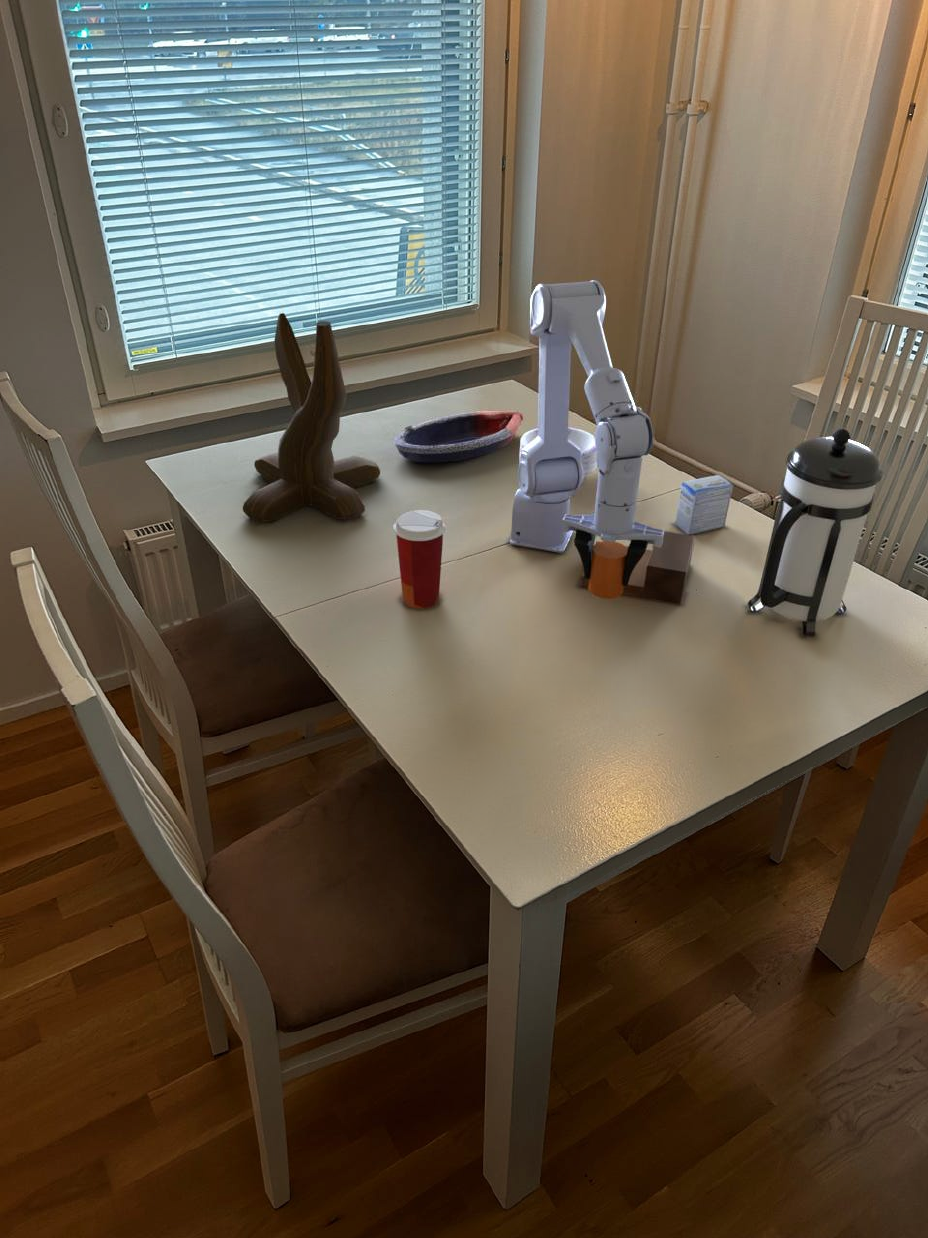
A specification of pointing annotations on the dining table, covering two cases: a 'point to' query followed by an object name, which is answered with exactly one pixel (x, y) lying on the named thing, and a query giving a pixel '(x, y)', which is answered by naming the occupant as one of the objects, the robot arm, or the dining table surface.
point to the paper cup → (420, 556)
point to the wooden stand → (310, 438)
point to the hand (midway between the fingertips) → (606, 578)
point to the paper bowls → (579, 438)
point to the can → (607, 569)
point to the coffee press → (817, 528)
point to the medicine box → (703, 504)
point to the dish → (458, 436)
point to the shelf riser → (661, 570)
